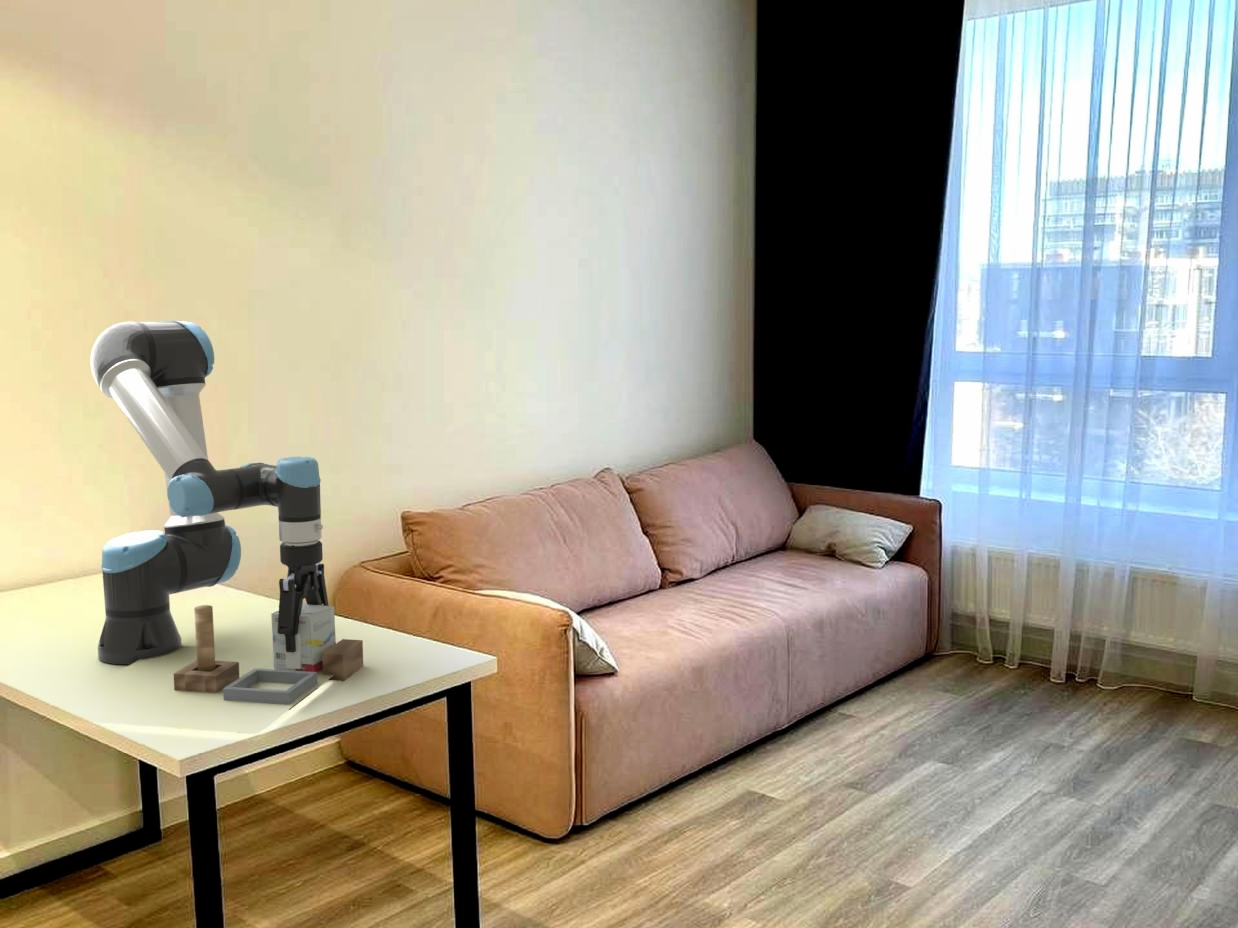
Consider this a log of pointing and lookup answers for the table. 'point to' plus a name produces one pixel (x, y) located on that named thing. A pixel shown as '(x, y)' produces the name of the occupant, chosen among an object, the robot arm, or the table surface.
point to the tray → (243, 693)
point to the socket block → (206, 677)
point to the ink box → (307, 637)
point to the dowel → (205, 638)
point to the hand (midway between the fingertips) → (305, 659)
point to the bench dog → (343, 659)
